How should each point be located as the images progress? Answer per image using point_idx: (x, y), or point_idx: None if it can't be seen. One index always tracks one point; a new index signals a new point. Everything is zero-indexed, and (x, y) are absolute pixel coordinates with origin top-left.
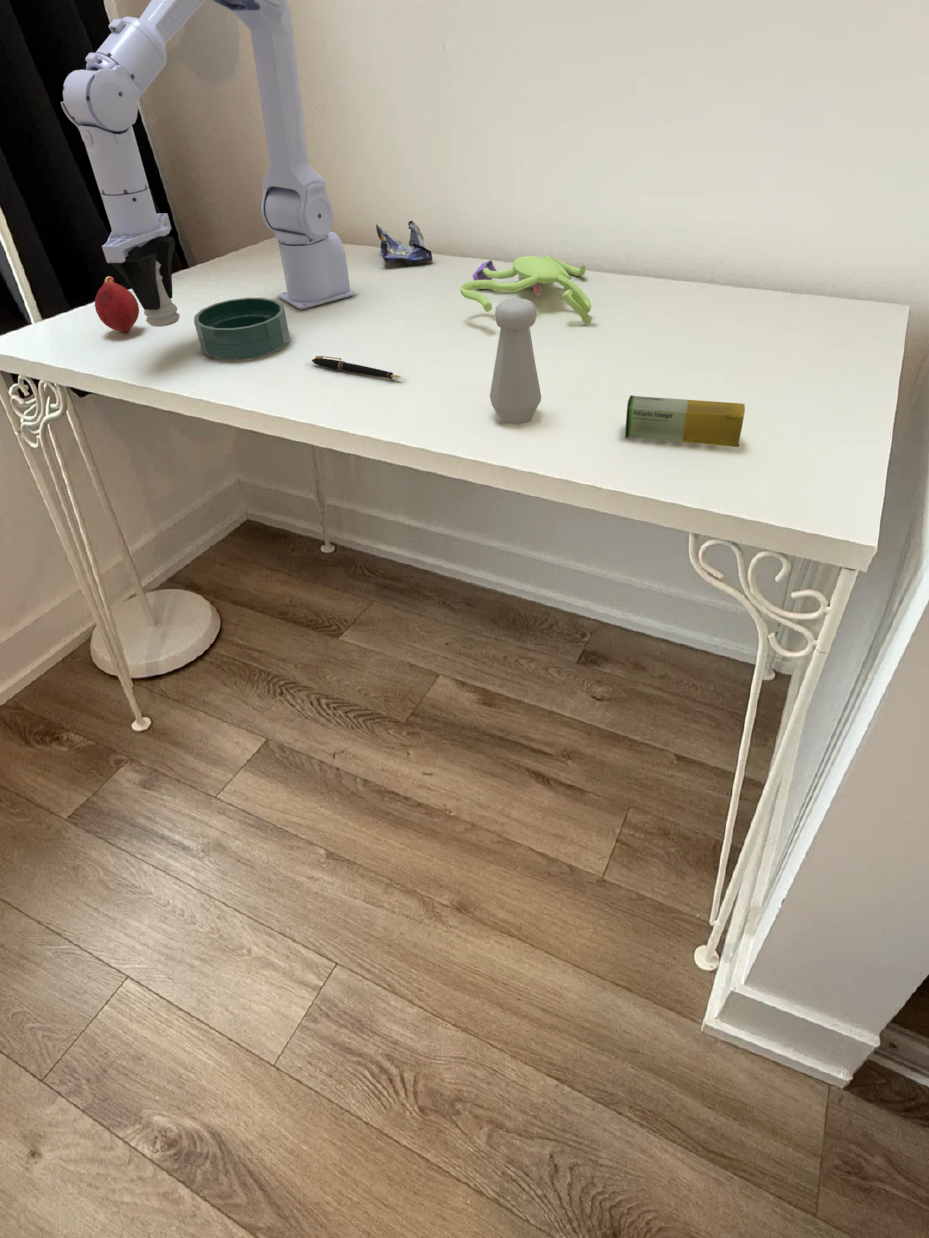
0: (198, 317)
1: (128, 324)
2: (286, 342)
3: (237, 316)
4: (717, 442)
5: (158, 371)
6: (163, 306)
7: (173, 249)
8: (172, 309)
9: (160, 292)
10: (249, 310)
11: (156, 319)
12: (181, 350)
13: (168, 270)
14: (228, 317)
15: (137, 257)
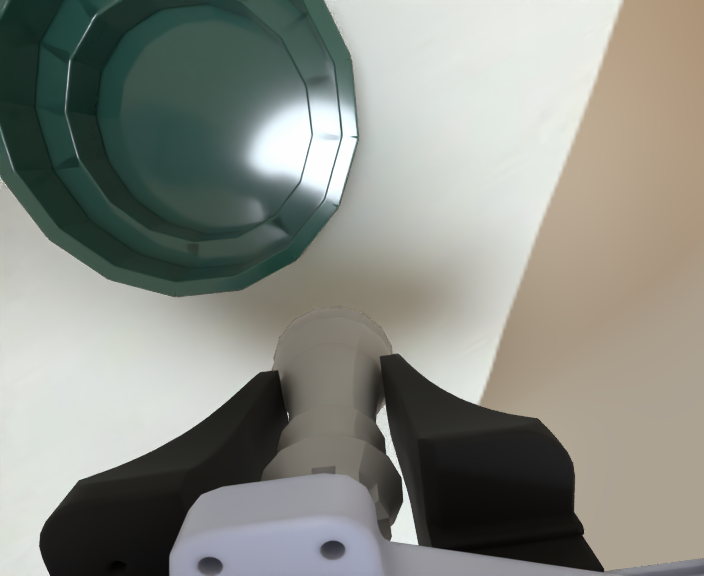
0: (255, 265)
1: None
2: None
3: (100, 200)
4: None
5: (434, 301)
6: (362, 352)
7: (116, 468)
8: (339, 325)
9: (349, 383)
10: (46, 167)
11: None
12: (291, 316)
13: (239, 418)
14: (118, 230)
15: (541, 518)
